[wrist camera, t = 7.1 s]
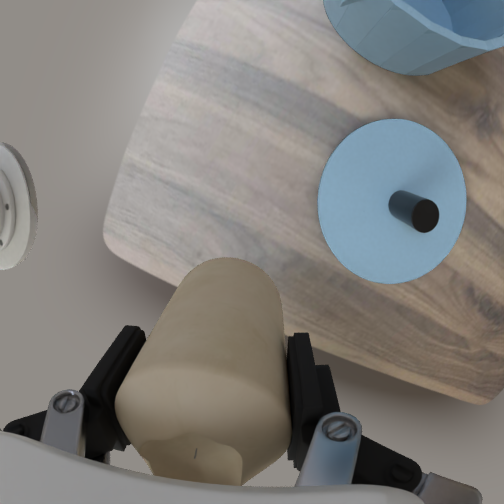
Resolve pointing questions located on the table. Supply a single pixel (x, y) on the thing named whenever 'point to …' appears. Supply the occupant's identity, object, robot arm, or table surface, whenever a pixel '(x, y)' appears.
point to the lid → (391, 201)
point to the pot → (418, 31)
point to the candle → (212, 379)
